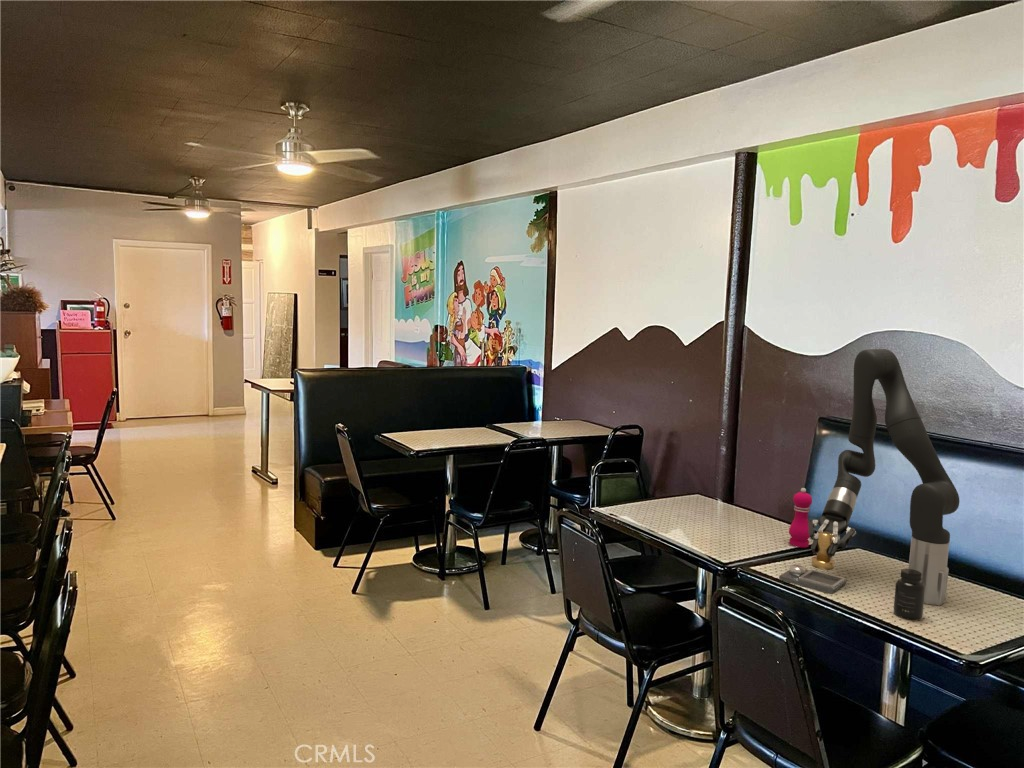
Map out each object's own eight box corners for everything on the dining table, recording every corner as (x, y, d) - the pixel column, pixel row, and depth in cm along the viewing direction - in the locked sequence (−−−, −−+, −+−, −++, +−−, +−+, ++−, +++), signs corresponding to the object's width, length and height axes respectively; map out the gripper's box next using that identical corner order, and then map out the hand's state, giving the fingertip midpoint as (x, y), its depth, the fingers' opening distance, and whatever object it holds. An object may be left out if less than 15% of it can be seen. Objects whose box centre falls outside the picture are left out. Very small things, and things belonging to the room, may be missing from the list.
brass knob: (836, 566, 211) (840, 533, 210) (829, 571, 207) (832, 537, 206) (816, 561, 215) (819, 528, 214) (808, 565, 211) (811, 532, 210)
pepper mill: (813, 548, 245) (818, 491, 243) (792, 547, 245) (796, 490, 244) (805, 541, 252) (810, 486, 251) (784, 541, 253) (789, 485, 251)
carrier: (846, 584, 212) (847, 573, 212) (832, 594, 203) (833, 583, 203) (795, 570, 222) (795, 560, 222) (779, 579, 214) (779, 569, 213)
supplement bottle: (896, 608, 195) (900, 565, 194) (924, 615, 191) (928, 571, 190) (890, 615, 190) (894, 571, 189) (919, 623, 186) (923, 578, 185)
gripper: (813, 493, 219) (794, 541, 211) (862, 504, 209) (844, 553, 202) (818, 507, 224) (799, 554, 216) (867, 518, 214) (849, 567, 206)
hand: (821, 553), depth 209 cm, fingers closed on brass knob, 3 cm apart
